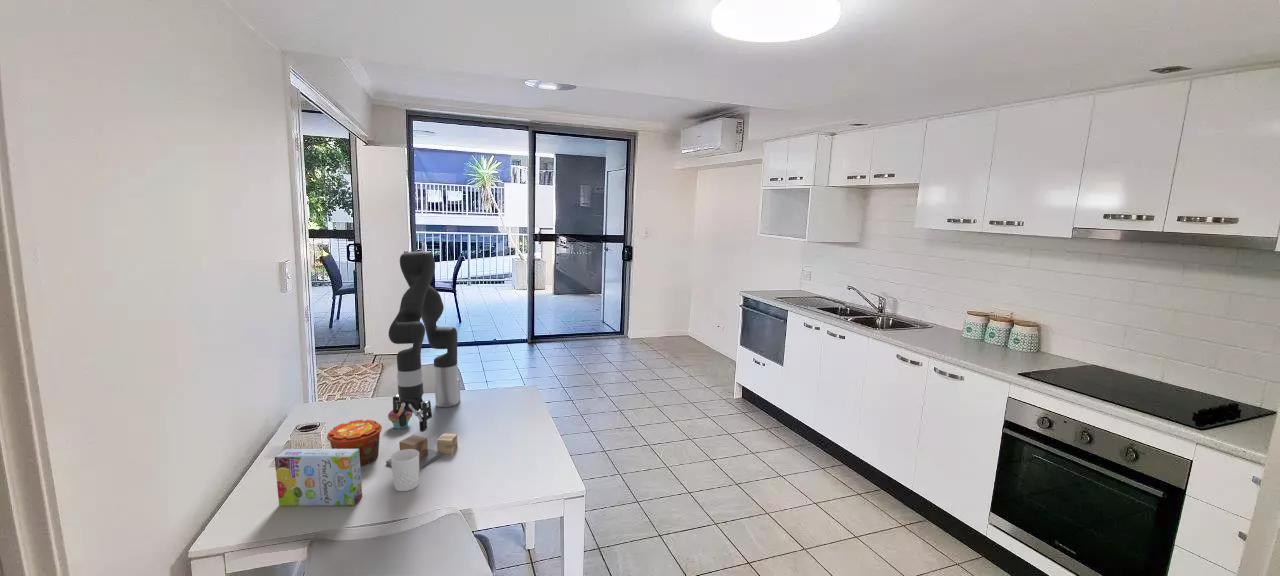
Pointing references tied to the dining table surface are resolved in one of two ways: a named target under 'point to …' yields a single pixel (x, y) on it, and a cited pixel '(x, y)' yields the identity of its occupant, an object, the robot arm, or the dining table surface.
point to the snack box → (318, 477)
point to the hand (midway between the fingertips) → (413, 428)
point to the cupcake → (395, 419)
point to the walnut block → (415, 444)
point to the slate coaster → (424, 458)
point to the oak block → (447, 443)
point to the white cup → (405, 469)
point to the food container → (357, 438)
